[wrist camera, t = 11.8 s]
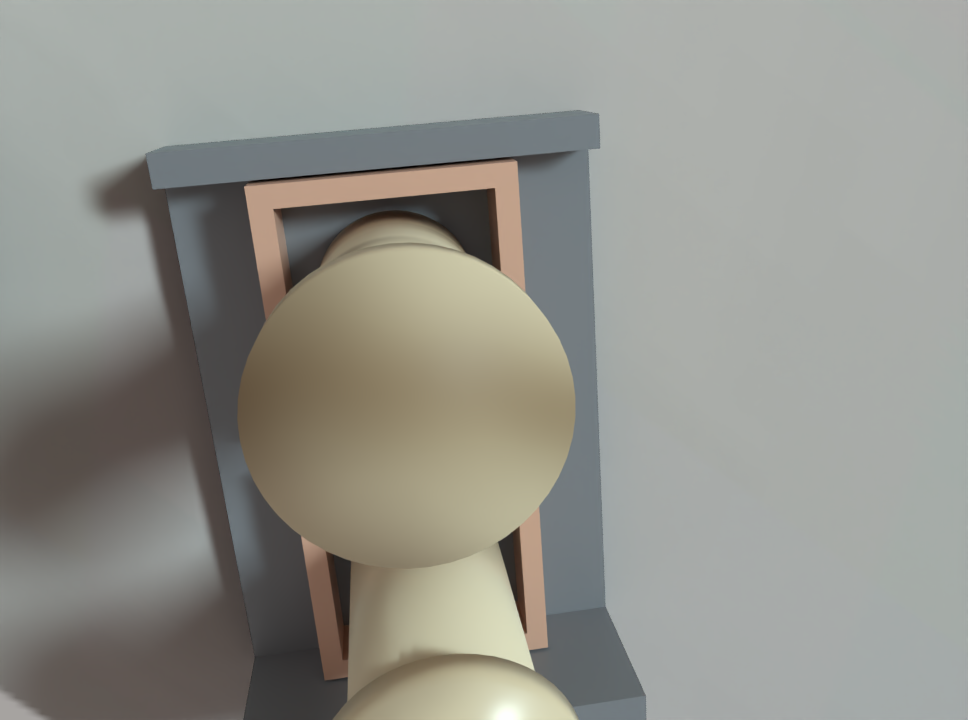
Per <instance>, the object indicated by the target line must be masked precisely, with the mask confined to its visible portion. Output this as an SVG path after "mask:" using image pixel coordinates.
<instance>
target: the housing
mask: <svg viewBox="0 0 968 720" xmlns="http://www.w3.org/2000/svg"><path fill="white" fill-rule="evenodd" d="M599 148H600V128H599V114H598V113H592V112H586V111H581V110H577V111H565V112H554V113H542V114H531V115H519V116H508V117H496V118H485V119H474V120H462V121H451V122H439V123H428V124H416V125H405V126H394V127H382V128H371V129H359V130H348V131H336V132H325V133H314V134H302V135H291V136H279V137H268V138H256V139H245V140H233V141H222V142H211V143H199V144H188V145H176V146H165V147H162V148H159V149H157V150H154V151H151V152H148V153H146V159H147V164H148V169H149V174H150V179H151V184H152V189H164V188H165V191H166V196H167V202H168V207H169V212H170V217H171V222H172V228H173V233H174V238H175V243H176V248H177V254H178V259H179V264H180V269H181V274H182V280H183V285H184V290H185V295H186V301H187V306H188V311H189V316H190V321H191V327H192V332H193V337H194V342H195V347H196V353H197V358H198V363H199V368H200V373H201V379H202V384H203V389H204V394H205V399H206V405H207V410H208V415H209V420H210V425H211V431H212V436H213V441H214V446H215V452H216V457H217V462H218V467H219V472H220V478H221V483H222V488H223V493H224V498H225V504H226V509H227V514H228V519H229V524H230V530H231V535H232V540H233V545H234V550H235V556H236V561H237V566H238V571H239V576H240V582H241V587H242V592H243V597H244V603H245V608H246V613H247V618H248V623H249V629H250V634H251V639H252V644H253V649H254V655H255V660H254V666H253V671H252V676H251V682H250V687H249V693H248V698H247V703H246V709H245V714H244V719H243V720H646V695H645V693H644V691H643V689H642V686H641V684H640V682H639V680H638V677H637V675H636V673H635V671H634V669H633V666H632V664H631V662H630V660H629V658H628V655H627V653H626V651H625V649H624V647H623V644H622V642H621V640H620V638H619V636H618V633H617V631H616V629H615V627H614V624H613V622H612V620H611V618H610V616H609V613H608V611H607V609H606V607H605V582H604V555H603V529H602V502H601V476H600V449H599V422H598V396H597V369H596V343H595V316H594V290H593V263H592V237H591V210H590V183H589V157H588V149H599ZM387 210H402V211H410V212H415V213H419V214H421V215H424V216H427V217H429V218H431V219H433V220H435V221H437V222H438V223H440V224H441V225H442V226H444V227H445V228H446V229H448V230H449V231H450V232H451V233H452V234H453V235H454V236H455V238H456V239H457V240H458V241H459V242H460V244H461V245H462V247H463V249H464V250H465V252H466V253H467V254H469V255H472V256H475V257H477V258H479V259H480V260H482V261H484V262H486V263H488V264H490V265H492V266H494V267H495V268H497V269H498V270H499V271H501V272H502V273H504V274H505V275H507V276H508V277H509V278H511V279H512V280H513V281H514V282H515V283H516V284H517V285H518V286H519V287H520V288H522V289H523V290H524V291H525V292H526V293H527V295H528V296H529V297H530V298H531V300H532V301H533V302H534V303H535V304H536V306H537V307H538V308H539V309H540V311H541V312H542V313H543V314H544V316H545V317H546V318H547V320H548V321H549V323H550V325H551V326H552V328H553V329H554V331H555V333H556V334H557V336H558V337H559V340H560V342H561V344H562V347H563V349H564V351H565V353H566V356H567V359H568V362H569V366H570V369H571V373H572V376H573V383H574V390H575V424H574V431H573V438H572V442H571V445H570V449H569V452H568V456H567V459H566V461H565V463H564V466H563V468H562V471H561V473H560V475H559V477H558V479H557V480H556V482H555V484H554V486H553V487H552V489H551V491H550V492H549V494H548V495H547V496H546V498H545V499H544V500H543V502H542V503H541V504H540V506H539V507H538V508H537V509H536V510H535V511H534V512H533V513H532V515H531V516H530V517H529V518H528V519H527V520H526V521H525V522H524V523H523V524H521V525H520V526H519V527H518V528H516V529H515V530H514V531H513V532H511V533H510V534H509V535H508V536H506V537H505V538H503V539H502V540H500V541H498V542H497V543H495V544H493V545H492V546H490V547H489V548H486V549H484V550H482V551H480V552H478V553H476V554H473V555H471V556H469V557H466V558H463V559H460V560H457V561H454V562H451V563H446V564H441V565H437V566H432V567H423V568H412V569H399V568H383V567H376V566H370V565H365V564H361V563H357V562H354V561H350V560H346V559H344V558H341V557H339V556H337V555H334V554H332V553H329V552H327V551H325V550H323V549H322V548H320V547H318V546H316V545H314V544H313V543H311V542H309V541H308V540H306V539H305V538H304V537H302V536H301V535H299V534H298V533H297V532H295V531H294V530H293V529H292V528H291V527H289V526H288V525H287V524H286V523H285V522H284V521H283V520H282V519H281V518H280V517H279V516H278V515H277V514H276V513H275V511H274V510H273V509H272V508H271V506H270V505H269V504H268V503H267V501H266V500H265V499H264V497H263V496H262V494H261V492H260V491H259V489H258V487H257V486H256V484H255V482H254V481H253V478H252V476H251V474H250V471H249V469H248V466H247V464H246V462H245V458H244V455H243V451H242V447H241V443H240V438H239V429H238V421H237V414H238V395H239V389H240V383H241V377H242V374H243V371H244V368H245V365H246V362H247V358H248V356H249V354H250V352H251V350H252V347H253V345H254V343H255V341H256V339H257V337H258V335H259V333H260V331H261V329H262V327H263V325H264V323H265V322H266V320H267V319H268V317H269V316H270V314H271V313H272V311H273V310H274V308H275V307H276V305H277V304H278V303H279V302H280V301H281V300H282V299H283V297H284V296H285V295H286V294H287V293H288V292H289V291H290V290H291V289H292V288H293V287H294V286H295V285H296V284H298V283H299V282H300V281H301V280H302V279H303V278H305V277H306V276H307V275H308V274H310V273H312V272H313V271H315V270H316V269H318V268H319V267H320V265H321V262H322V259H323V257H324V255H325V253H326V251H327V249H328V247H329V246H330V244H331V243H332V241H333V240H334V239H335V238H336V237H337V235H338V234H339V233H340V232H341V231H342V230H344V229H345V228H346V227H347V226H348V225H350V224H351V223H353V222H354V221H356V220H358V219H360V218H362V217H364V216H366V215H370V214H373V213H376V212H381V211H387Z"/></svg>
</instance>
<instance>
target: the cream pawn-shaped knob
mask: <svg viewBox="0 0 968 720" xmlns="http://www.w3.org/2000/svg"><path fill="white" fill-rule="evenodd" d="M237 421H238V429H239V438H240V443H241V447H242V451H243V455H244V458H245V462H246V464H247V466H248V469H249V471H250V474H251V476H252V478H253V481H254V482H255V484H256V486H257V487H258V489H259V491H260V492H261V494H262V496H263V497H264V499H265V500H266V501H267V503H268V504H269V505H270V506H271V508H272V509H273V510H274V511H275V513H276V514H277V515H278V516H279V517H280V518H281V519H282V520H283V521H284V522H285V523H286V524H287V525H288V526H289V527H291V528H292V529H293V530H294V531H295V532H297V533H298V534H299V535H301V536H302V537H304V538H305V539H306V540H308V541H309V542H311V543H313V544H314V545H316V546H318V547H320V548H322V549H323V550H325V551H327V552H329V553H332V554H334V555H337V556H339V557H341V558H344V559H346V560H350V561H354V562H357V563H361V564H365V565H370V566H376V567H383V568H399V569H412V568H423V567H432V566H437V565H441V564H446V563H451V562H454V561H457V560H460V559H463V558H466V557H469V556H471V555H473V554H476V553H478V552H480V551H482V550H484V549H486V548H489V547H490V546H492V545H493V544H495V543H497V542H498V541H500V540H502V539H503V538H505V537H506V536H508V535H509V534H510V533H511V532H513V531H514V530H515V529H516V528H518V527H519V526H520V525H521V524H523V523H524V522H525V521H526V520H527V519H528V518H529V517H530V516H531V515H532V513H533V512H534V511H535V510H536V509H537V508H538V507H539V506H540V504H541V503H542V502H543V500H544V499H545V498H546V496H547V495H548V494H549V492H550V491H551V489H552V487H553V486H554V484H555V482H556V480H557V479H558V477H559V475H560V473H561V471H562V468H563V466H564V463H565V461H566V459H567V456H568V452H569V449H570V445H571V442H572V438H573V431H574V424H575V390H574V383H573V376H572V373H571V369H570V366H569V362H568V359H567V356H566V353H565V351H564V349H563V347H562V344H561V342H560V340H559V337H558V336H557V334H556V333H555V331H554V329H553V328H552V326H551V325H550V323H549V321H548V320H547V318H546V317H545V316H544V314H543V313H542V312H541V311H540V309H539V308H538V307H537V306H536V304H535V303H534V302H533V301H532V300H531V298H530V297H529V296H528V295H527V293H526V292H525V291H524V290H523V289H522V288H520V287H519V286H518V285H517V284H516V283H515V282H514V281H513V280H512V279H511V278H509V277H508V276H507V275H505V274H504V273H502V272H501V271H499V270H498V269H497V268H495V267H494V266H492V265H490V264H488V263H486V262H484V261H482V260H480V259H479V258H477V257H475V256H472V255H469V254H467V253H466V252H465V250H464V249H463V247H462V245H461V244H460V242H459V241H458V240H457V239H456V238H455V236H454V235H453V234H452V233H451V232H450V231H449V230H448V229H446V228H445V227H444V226H442V225H441V224H440V223H438V222H437V221H435V220H433V219H431V218H429V217H427V216H424V215H421V214H419V213H415V212H410V211H402V210H387V211H381V212H376V213H373V214H370V215H366V216H364V217H362V218H360V219H358V220H356V221H354V222H353V223H351V224H350V225H348V226H347V227H346V228H345V229H344V230H342V231H341V232H340V233H339V234H338V235H337V237H336V238H335V239H334V240H333V241H332V243H331V244H330V246H329V247H328V249H327V251H326V253H325V255H324V257H323V259H322V262H321V265H320V267H319V268H318V269H316V270H315V271H313V272H312V273H310V274H308V275H307V276H306V277H305V278H303V279H302V280H301V281H300V282H299V283H298V284H296V285H295V286H294V287H293V288H292V289H291V290H290V291H289V292H288V293H287V294H286V295H285V296H284V297H283V299H282V300H281V301H280V302H279V303H278V304H277V305H276V307H275V308H274V310H273V311H272V313H271V314H270V316H269V317H268V319H267V320H266V322H265V323H264V325H263V327H262V329H261V331H260V333H259V335H258V337H257V339H256V341H255V343H254V345H253V347H252V350H251V352H250V354H249V356H248V358H247V362H246V365H245V368H244V371H243V374H242V377H241V383H240V389H239V395H238V414H237Z"/></svg>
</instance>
